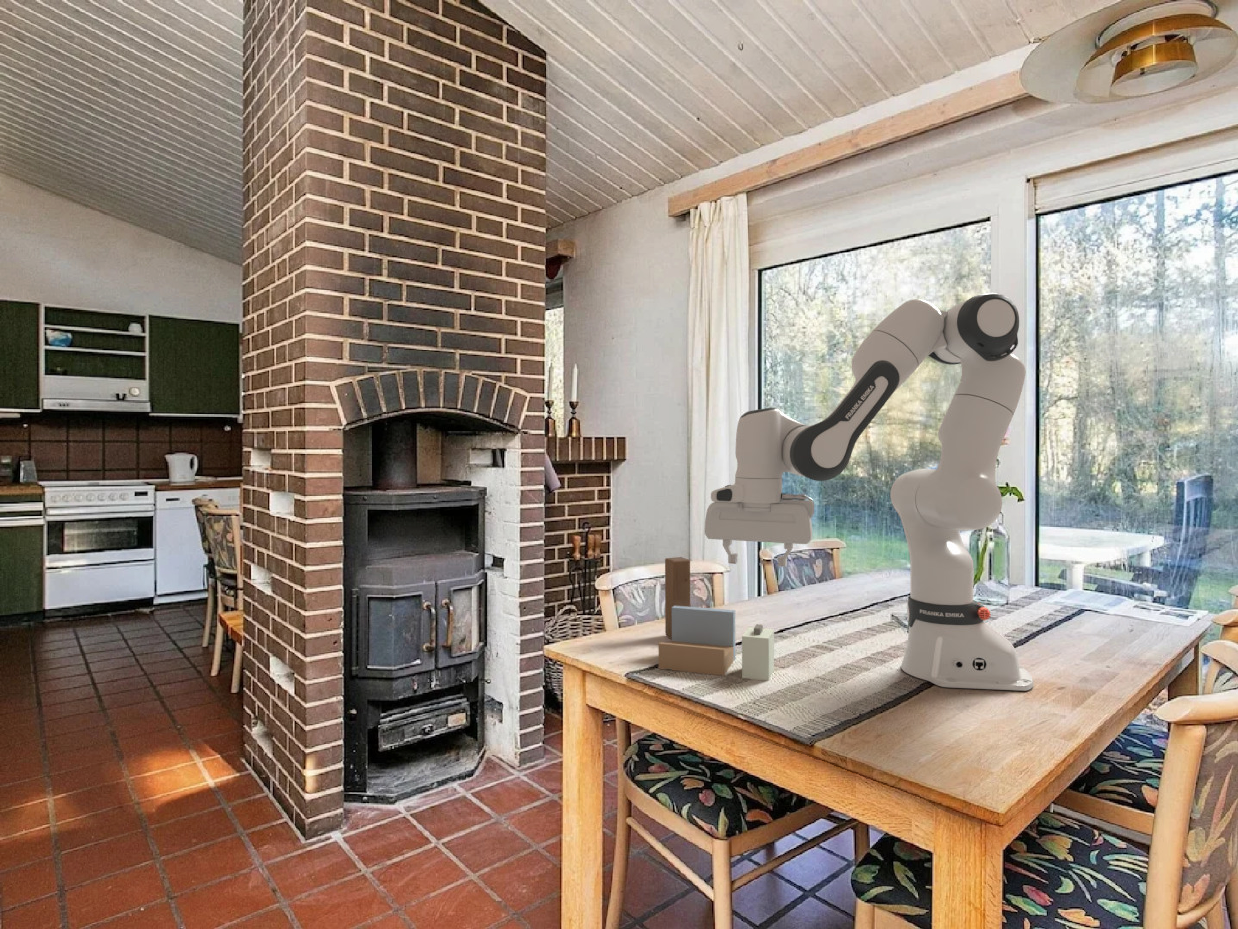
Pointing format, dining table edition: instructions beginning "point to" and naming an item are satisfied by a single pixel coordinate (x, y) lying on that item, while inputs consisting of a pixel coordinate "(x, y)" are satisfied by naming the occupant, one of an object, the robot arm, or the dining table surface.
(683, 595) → the wooden block
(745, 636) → the cabinet block
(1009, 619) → the dining table surface
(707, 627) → the board
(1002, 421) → the robot arm
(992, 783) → the dining table surface
